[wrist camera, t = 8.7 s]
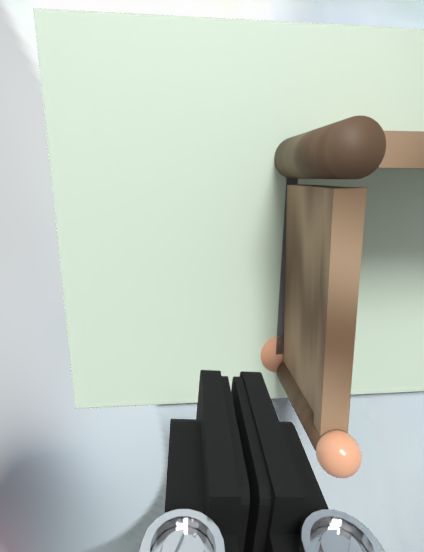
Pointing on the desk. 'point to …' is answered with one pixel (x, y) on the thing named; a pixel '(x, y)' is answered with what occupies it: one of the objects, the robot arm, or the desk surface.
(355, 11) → the desk surface
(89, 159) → the card
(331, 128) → the fence fixed section
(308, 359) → the panel
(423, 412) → the desk surface
